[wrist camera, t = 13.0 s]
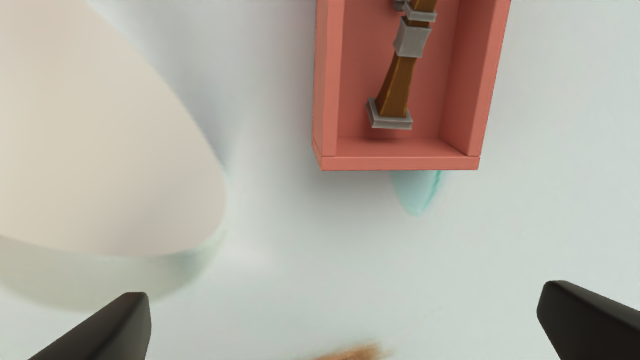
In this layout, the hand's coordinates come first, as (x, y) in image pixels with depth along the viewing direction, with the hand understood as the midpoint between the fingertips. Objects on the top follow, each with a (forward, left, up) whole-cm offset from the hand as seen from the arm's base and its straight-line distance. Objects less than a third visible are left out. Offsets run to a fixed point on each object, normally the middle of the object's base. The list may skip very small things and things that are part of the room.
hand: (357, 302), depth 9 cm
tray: (+6, -3, -11) cm, 13 cm away
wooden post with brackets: (+6, -3, -11) cm, 13 cm away
